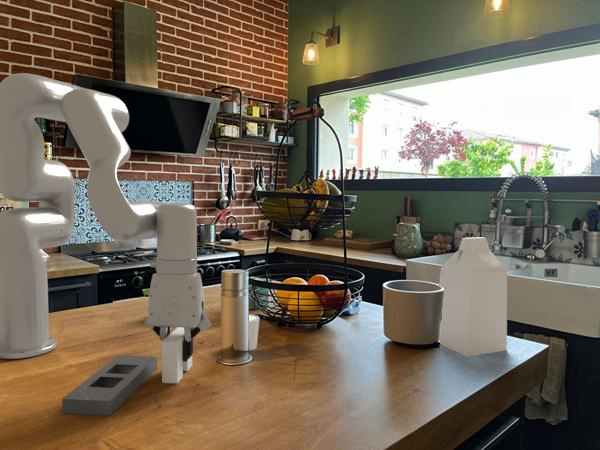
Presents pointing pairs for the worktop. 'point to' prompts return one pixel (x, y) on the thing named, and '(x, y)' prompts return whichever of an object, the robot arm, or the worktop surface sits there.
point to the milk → (474, 300)
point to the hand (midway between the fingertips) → (177, 357)
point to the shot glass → (253, 331)
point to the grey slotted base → (109, 386)
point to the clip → (174, 357)
